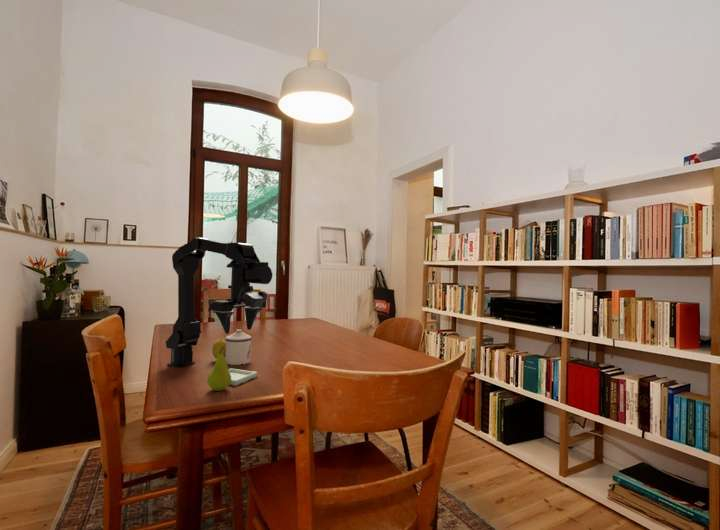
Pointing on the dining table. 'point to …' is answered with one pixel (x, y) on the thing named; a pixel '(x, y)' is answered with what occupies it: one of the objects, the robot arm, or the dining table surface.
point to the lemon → (219, 348)
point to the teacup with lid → (238, 348)
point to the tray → (240, 376)
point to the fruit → (219, 374)
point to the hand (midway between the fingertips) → (238, 331)
